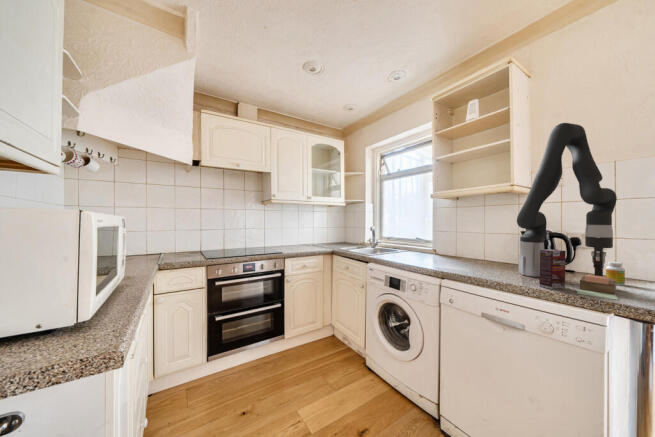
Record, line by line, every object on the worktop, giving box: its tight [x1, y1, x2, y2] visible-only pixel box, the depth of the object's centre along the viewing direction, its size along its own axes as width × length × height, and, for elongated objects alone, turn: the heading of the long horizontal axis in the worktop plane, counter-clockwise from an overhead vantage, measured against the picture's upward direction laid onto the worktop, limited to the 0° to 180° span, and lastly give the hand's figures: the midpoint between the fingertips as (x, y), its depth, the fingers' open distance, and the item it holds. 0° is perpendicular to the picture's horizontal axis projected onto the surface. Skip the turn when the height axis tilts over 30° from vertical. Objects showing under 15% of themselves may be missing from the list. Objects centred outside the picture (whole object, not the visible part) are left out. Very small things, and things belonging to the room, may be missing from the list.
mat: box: [576, 288, 619, 301], centre depth 90 cm, size 10×7×1 cm
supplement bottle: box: [605, 261, 626, 286], centre depth 106 cm, size 5×5×10 cm
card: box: [585, 273, 609, 284], centre depth 94 cm, size 5×6×2 cm
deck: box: [579, 274, 617, 295], centre depth 97 cm, size 14×9×4 cm, turn 128°
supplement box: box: [538, 248, 567, 290], centre depth 100 cm, size 9×5×16 cm, turn 106°
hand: (598, 277), depth 97 cm, fingers closed
